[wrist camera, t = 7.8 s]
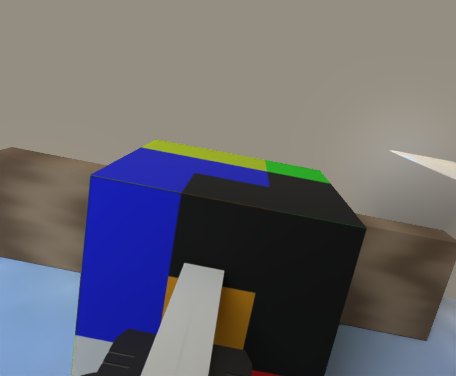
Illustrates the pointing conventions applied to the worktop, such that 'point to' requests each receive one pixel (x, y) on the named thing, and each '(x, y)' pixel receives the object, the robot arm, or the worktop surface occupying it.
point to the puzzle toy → (217, 253)
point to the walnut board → (360, 285)
